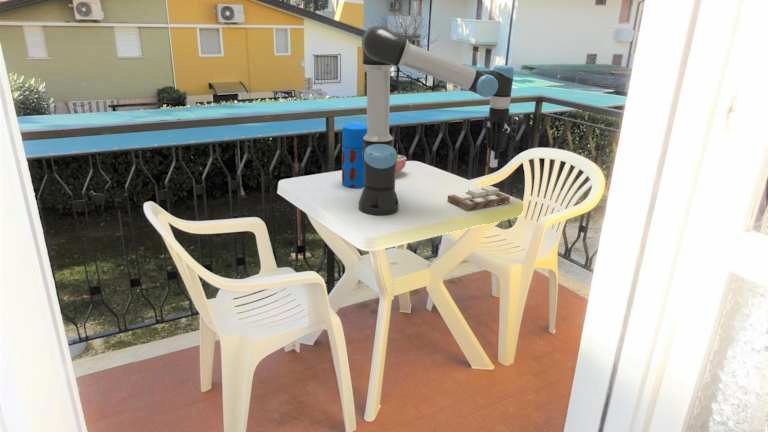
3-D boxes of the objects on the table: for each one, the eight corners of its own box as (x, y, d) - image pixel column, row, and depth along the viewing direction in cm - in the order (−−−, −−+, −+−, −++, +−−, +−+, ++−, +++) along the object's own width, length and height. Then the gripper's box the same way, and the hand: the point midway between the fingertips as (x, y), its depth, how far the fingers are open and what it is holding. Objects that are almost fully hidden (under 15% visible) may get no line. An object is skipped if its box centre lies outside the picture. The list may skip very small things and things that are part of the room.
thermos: (364, 189, 221) (365, 130, 212) (339, 187, 222) (339, 128, 213) (369, 182, 231) (370, 125, 222) (345, 180, 232) (345, 123, 223)
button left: (461, 204, 205) (462, 198, 204) (453, 200, 209) (454, 194, 208) (471, 202, 208) (472, 196, 207) (463, 198, 212) (464, 192, 211)
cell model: (410, 178, 238) (412, 154, 234) (368, 180, 233) (368, 155, 229) (399, 168, 253) (400, 145, 249) (358, 170, 248) (359, 146, 244)
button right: (489, 196, 212) (489, 190, 211) (480, 193, 216) (481, 187, 215) (498, 195, 214) (499, 189, 214) (489, 191, 218) (490, 185, 218)
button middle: (475, 199, 208) (476, 193, 208) (467, 195, 212) (468, 189, 212) (485, 197, 211) (486, 191, 210) (477, 193, 215) (477, 187, 214)
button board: (466, 211, 201) (467, 204, 200) (447, 201, 210) (447, 194, 209) (509, 202, 212) (510, 196, 211) (488, 194, 221) (489, 187, 220)
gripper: (519, 109, 199) (511, 169, 208) (495, 104, 210) (489, 161, 218) (504, 110, 196) (497, 171, 204) (480, 105, 206) (475, 163, 214)
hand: (493, 166), depth 211 cm, fingers closed
